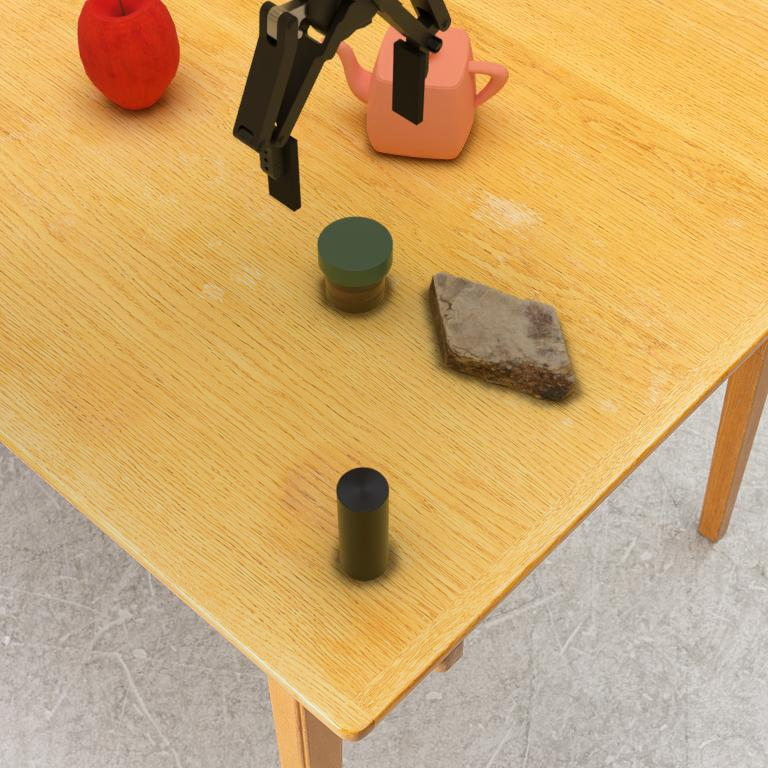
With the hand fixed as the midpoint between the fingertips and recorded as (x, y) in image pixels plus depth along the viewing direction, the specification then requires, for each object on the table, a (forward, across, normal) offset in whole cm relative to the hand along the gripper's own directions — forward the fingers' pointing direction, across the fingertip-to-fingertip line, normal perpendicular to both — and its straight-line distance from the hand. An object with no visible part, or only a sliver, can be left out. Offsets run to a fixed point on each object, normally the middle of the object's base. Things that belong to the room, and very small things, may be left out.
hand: (348, 157), depth 91 cm
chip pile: (+16, 0, 0) cm, 16 cm away
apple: (+16, +4, +34) cm, 38 cm away
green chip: (+12, 0, 0) cm, 12 cm away
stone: (+16, +4, -13) cm, 21 cm away
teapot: (+16, +20, +11) cm, 28 cm away
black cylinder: (+16, -18, -19) cm, 31 cm away
